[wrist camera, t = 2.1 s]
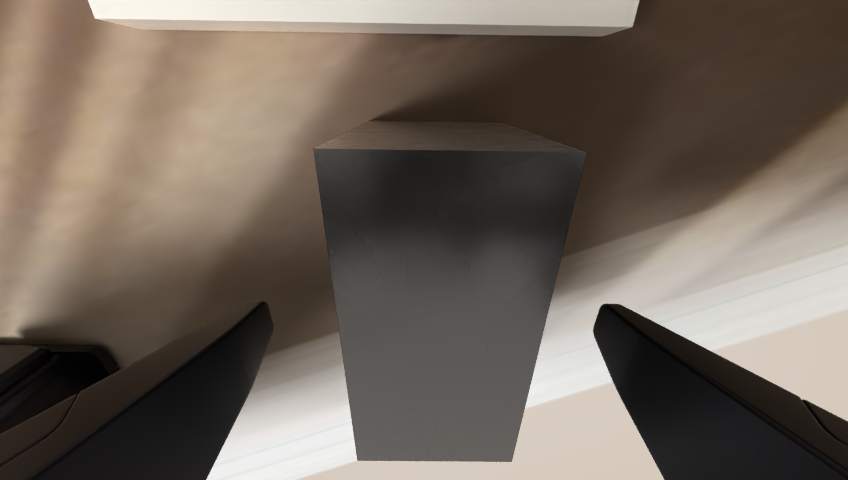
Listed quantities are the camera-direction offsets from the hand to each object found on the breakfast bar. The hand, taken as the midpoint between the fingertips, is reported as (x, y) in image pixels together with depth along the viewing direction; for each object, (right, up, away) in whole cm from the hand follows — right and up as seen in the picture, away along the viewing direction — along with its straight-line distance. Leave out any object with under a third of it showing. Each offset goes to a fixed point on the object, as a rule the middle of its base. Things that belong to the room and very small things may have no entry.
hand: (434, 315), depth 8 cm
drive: (0, +2, +4) cm, 5 cm away
